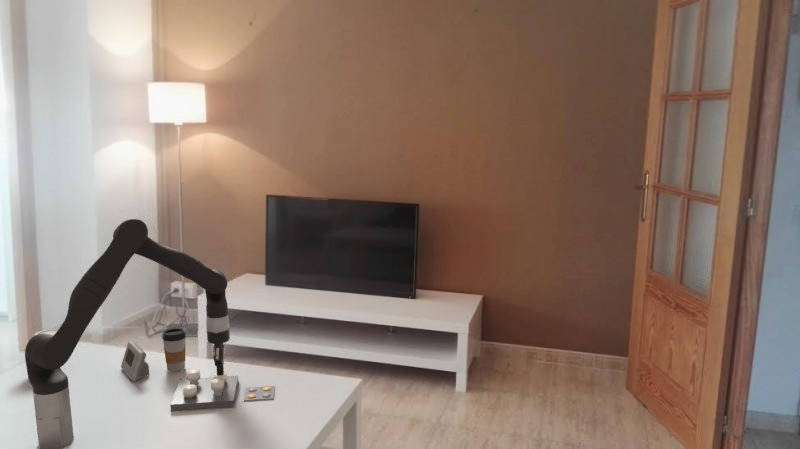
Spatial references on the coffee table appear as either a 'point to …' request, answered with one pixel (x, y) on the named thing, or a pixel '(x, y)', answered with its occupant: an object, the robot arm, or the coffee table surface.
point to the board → (205, 395)
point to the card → (259, 393)
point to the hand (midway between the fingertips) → (220, 374)
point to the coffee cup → (174, 349)
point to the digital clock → (135, 362)
